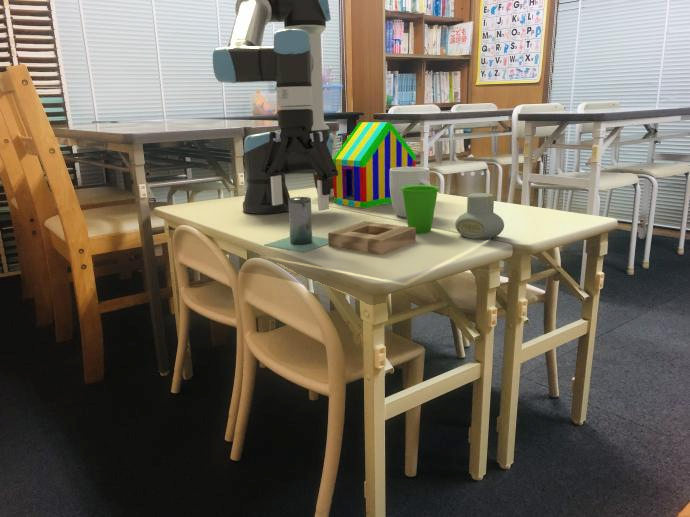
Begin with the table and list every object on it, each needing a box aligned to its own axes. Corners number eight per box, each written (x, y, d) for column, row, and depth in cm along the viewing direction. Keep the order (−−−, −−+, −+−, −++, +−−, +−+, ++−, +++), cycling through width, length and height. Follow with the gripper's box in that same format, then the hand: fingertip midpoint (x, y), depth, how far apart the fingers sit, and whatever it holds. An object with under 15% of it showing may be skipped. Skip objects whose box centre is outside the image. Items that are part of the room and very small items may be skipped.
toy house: (363, 208, 167) (362, 123, 160) (334, 203, 177) (331, 123, 170) (415, 197, 183) (415, 120, 176) (385, 193, 192) (385, 120, 186)
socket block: (328, 248, 121) (328, 232, 120) (364, 235, 132) (364, 221, 131) (381, 257, 113) (381, 240, 112) (415, 242, 124) (415, 227, 123)
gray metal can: (285, 243, 124) (283, 199, 121) (300, 238, 128) (298, 196, 125) (302, 246, 121) (300, 201, 118) (316, 241, 125) (315, 198, 122)
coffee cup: (305, 197, 189) (303, 162, 186) (328, 193, 196) (327, 159, 193) (325, 200, 181) (324, 164, 178) (349, 196, 188) (348, 161, 185)
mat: (264, 247, 123) (263, 244, 123) (299, 236, 132) (299, 234, 132) (304, 254, 116) (304, 251, 116) (338, 242, 125) (338, 240, 125)
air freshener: (449, 237, 128) (450, 195, 125) (467, 231, 134) (468, 190, 131) (492, 244, 121) (494, 199, 118) (509, 237, 127) (511, 194, 124)
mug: (446, 218, 149) (448, 169, 146) (416, 223, 143) (416, 173, 140) (411, 210, 161) (411, 165, 158) (381, 215, 155) (381, 168, 152)
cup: (397, 229, 137) (397, 185, 134) (433, 228, 138) (434, 184, 135) (404, 238, 128) (404, 191, 125) (442, 236, 129) (443, 189, 126)
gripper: (241, 109, 121) (248, 204, 126) (330, 107, 106) (333, 215, 112) (265, 108, 126) (271, 200, 132) (353, 106, 112) (355, 209, 118)
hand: (299, 207), depth 122 cm, fingers open, 13 cm apart
